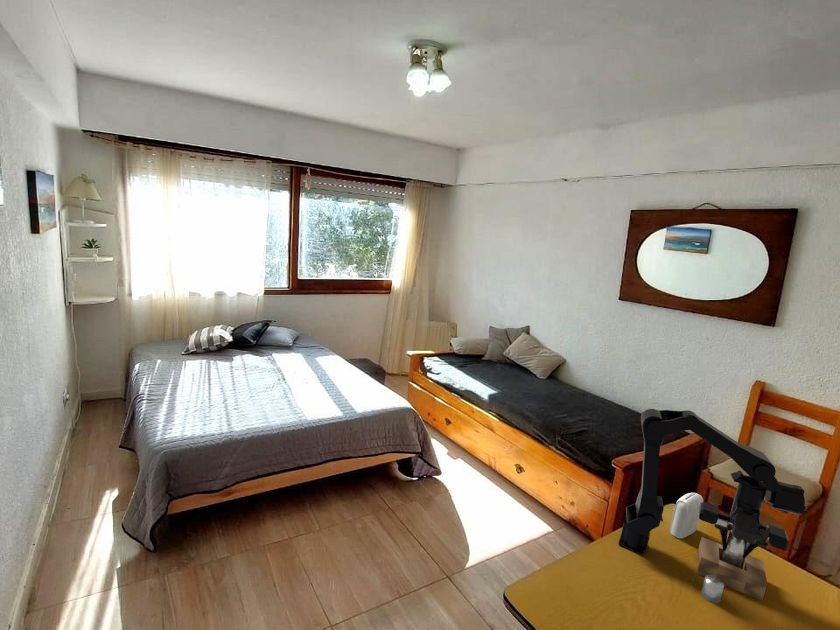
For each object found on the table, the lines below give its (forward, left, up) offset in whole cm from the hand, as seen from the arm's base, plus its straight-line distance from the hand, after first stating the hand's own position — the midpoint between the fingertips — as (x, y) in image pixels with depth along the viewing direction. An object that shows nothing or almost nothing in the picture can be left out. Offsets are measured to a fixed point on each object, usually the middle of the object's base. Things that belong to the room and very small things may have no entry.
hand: (733, 553), depth 118 cm
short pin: (-4, -12, -7) cm, 14 cm away
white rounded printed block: (-11, +13, -7) cm, 18 cm away
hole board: (0, 0, -7) cm, 7 cm away
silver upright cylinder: (0, 0, -3) cm, 3 cm away
